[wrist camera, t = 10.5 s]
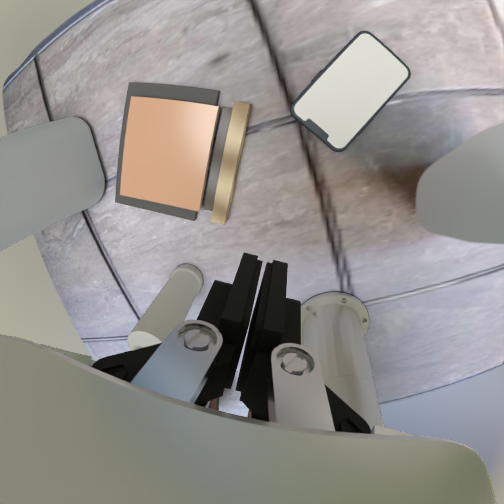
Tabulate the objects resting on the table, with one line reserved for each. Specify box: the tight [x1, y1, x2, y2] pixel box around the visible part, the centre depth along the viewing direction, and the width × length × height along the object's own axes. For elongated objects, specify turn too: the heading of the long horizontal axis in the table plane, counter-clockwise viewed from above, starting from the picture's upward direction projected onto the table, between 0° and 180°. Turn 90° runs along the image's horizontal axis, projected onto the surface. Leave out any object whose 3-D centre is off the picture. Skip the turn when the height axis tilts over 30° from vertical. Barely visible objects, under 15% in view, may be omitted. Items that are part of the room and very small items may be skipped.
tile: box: [120, 96, 220, 211], centre depth 36 cm, size 1×14×12 cm
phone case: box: [290, 31, 411, 152], centre depth 31 cm, size 9×2×16 cm
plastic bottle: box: [0, 117, 105, 252], centre depth 28 cm, size 15×15×28 cm
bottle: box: [128, 264, 203, 351], centre depth 35 cm, size 5×5×25 cm
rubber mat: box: [115, 82, 220, 221], centre depth 38 cm, size 18×13×1 cm
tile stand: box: [204, 101, 252, 225], centre depth 37 cm, size 16×3×2 cm, turn 168°
